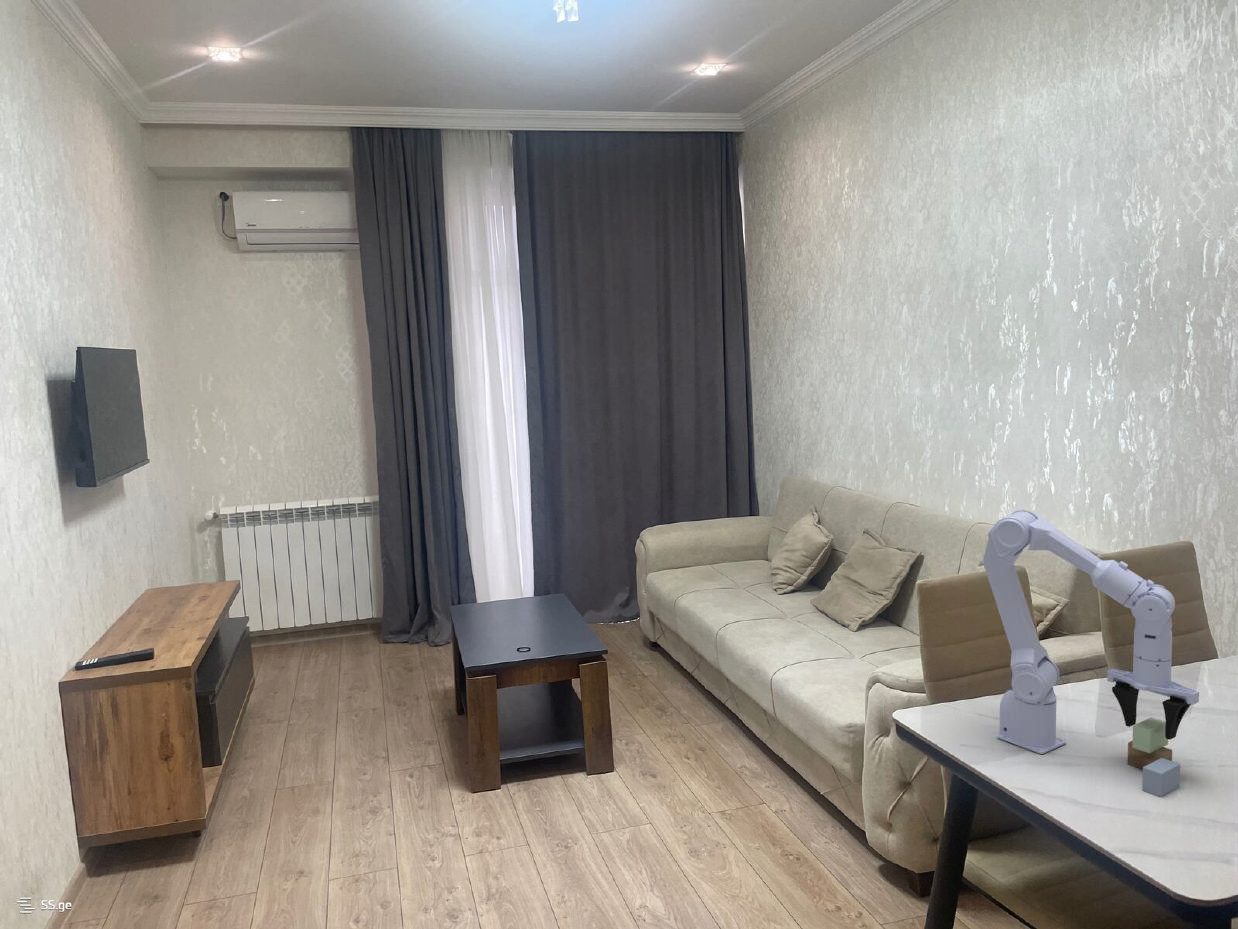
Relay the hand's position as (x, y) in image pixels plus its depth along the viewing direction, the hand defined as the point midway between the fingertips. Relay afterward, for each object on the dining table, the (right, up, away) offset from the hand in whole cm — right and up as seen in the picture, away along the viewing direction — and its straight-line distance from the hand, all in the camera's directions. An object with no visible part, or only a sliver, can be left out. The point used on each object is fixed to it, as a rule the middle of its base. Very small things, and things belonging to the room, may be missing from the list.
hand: (1150, 731), depth 157 cm
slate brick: (-2, -8, -7) cm, 10 cm away
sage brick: (0, -3, 0) cm, 3 cm away
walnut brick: (0, -7, +1) cm, 7 cm away
